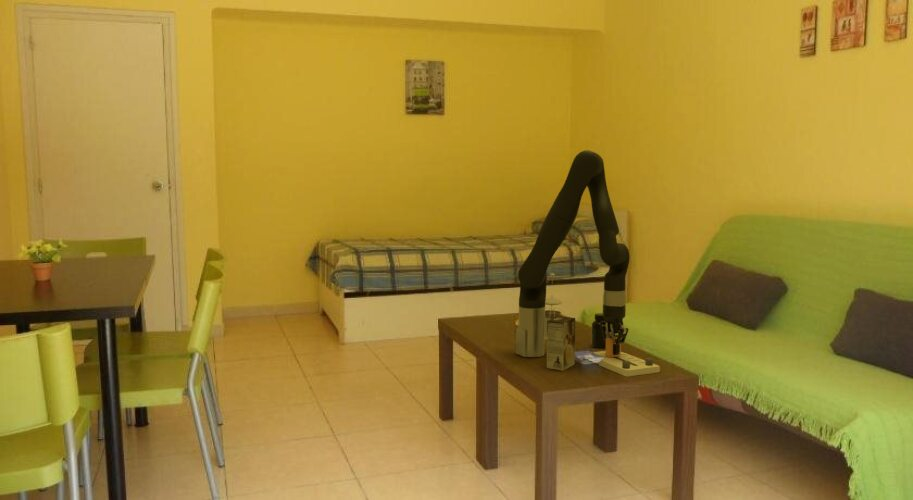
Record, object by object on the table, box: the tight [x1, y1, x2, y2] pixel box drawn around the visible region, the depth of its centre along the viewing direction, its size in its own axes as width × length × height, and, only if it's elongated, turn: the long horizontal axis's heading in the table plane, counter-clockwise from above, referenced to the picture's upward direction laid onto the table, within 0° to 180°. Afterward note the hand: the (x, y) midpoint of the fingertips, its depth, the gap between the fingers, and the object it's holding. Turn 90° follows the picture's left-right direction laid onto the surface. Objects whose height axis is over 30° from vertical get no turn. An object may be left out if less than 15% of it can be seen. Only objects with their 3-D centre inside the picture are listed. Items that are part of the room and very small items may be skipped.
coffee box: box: [546, 315, 576, 372], centre depth 256 cm, size 9×6×16 cm
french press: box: [545, 272, 563, 340], centre depth 297 cm, size 10×12×25 cm
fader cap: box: [605, 337, 622, 357], centre depth 261 cm, size 4×3×6 cm, turn 114°
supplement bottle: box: [590, 312, 606, 349], centre depth 284 cm, size 7×7×12 cm
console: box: [593, 350, 661, 378], centre depth 258 cm, size 13×24×4 cm, turn 24°
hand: (613, 353), depth 262 cm, fingers closed on fader cap, 2 cm apart
